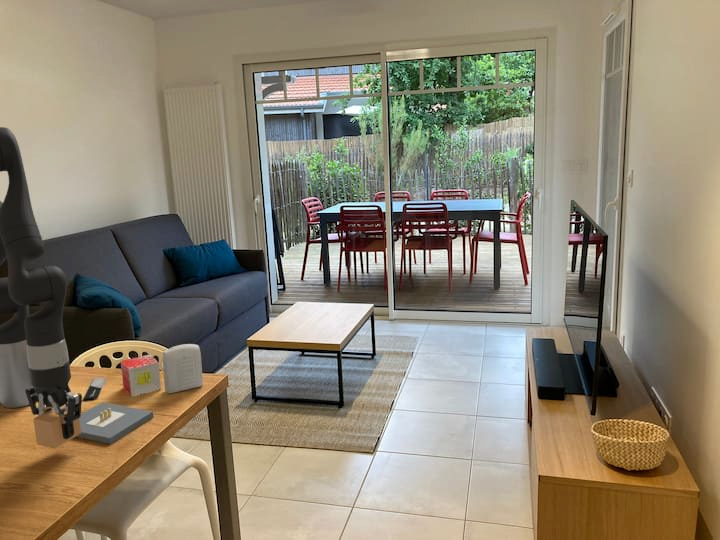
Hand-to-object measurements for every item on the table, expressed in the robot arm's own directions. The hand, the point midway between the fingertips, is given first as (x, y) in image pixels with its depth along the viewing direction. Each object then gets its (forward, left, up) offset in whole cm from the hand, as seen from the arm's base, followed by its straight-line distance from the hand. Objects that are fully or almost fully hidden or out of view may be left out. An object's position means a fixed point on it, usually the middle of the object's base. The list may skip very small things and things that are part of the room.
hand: (59, 434), depth 127 cm
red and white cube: (-8, +34, -5) cm, 35 cm away
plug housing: (0, 0, -1) cm, 1 cm away
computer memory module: (-20, +29, -5) cm, 35 cm away
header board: (-1, +14, -4) cm, 14 cm away
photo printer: (+3, +38, -5) cm, 38 cm away
